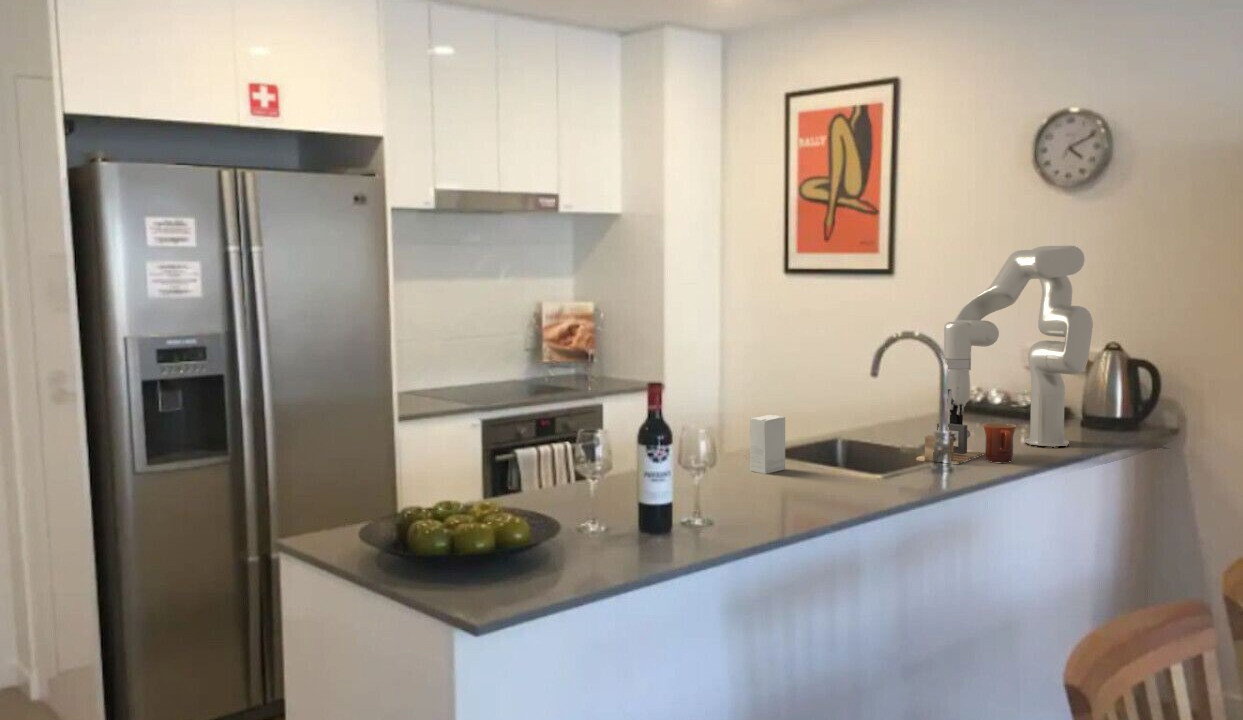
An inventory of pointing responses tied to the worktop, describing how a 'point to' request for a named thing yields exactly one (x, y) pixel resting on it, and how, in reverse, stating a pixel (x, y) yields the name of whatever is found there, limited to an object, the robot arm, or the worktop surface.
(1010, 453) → the mug
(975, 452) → the board block
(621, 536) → the worktop surface
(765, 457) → the skincare box
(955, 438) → the pipe
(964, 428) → the gray square frame
